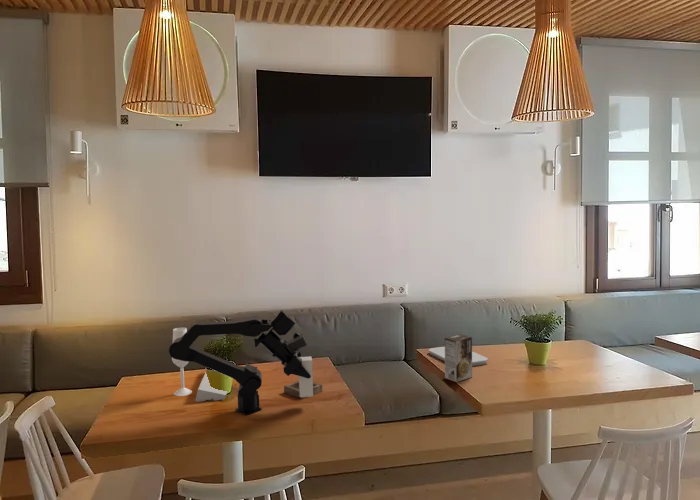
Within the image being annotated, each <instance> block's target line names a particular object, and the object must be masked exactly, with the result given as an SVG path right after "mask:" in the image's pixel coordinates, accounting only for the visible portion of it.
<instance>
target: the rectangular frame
mask: <svg viewBox="0 0 700 500" xmlns="http://www.w3.org/2000/svg"><path fill="white" fill-rule="evenodd" d="M321 392H323V384H321V383H318V382H314V381H313V396H314V395H317V394H319V393H321ZM283 393H285V394H286V395H290V396H293V397H296V398H299V399H302V400H303V399H306V398H307V397H300V394H299V380H298V381H295V382H292V383H289V384H286V385H284V386H283Z"/></svg>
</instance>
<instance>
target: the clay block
mask: <svg viewBox="0 0 700 500" xmlns="http://www.w3.org/2000/svg"><path fill="white" fill-rule="evenodd" d="M299 358H300V359H302V365H303V367H304V368H305V369H306V370H307V372H308V373H309V374H310V375H311V377H310V378H309V379H308V378H305V377H301V376H298V381H299V394H300V397H306V398H310V397H314V395H313V382H314V381H313V380H314V379H313V358H312V356H310V355H309V356H301V357H299Z"/></svg>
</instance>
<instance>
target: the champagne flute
mask: <svg viewBox="0 0 700 500" xmlns="http://www.w3.org/2000/svg"><path fill="white" fill-rule="evenodd" d="M187 329H188V328H187V327H175V328H173V329H172V343H173V342H174V340H175V339H177V338H180V337H182V336H183V335H184V334H185V333H186V332H187V331H188V330H187ZM171 361H172V362H173V364H174V365H175V366H177V368H180V369H179V373H180V374H179V375H180V388H178V389H177V390H176V391H175V392H174V393H173V395H174V396H177V397H184V396H188V395H191V394H192V393H193V391H192V390H191V389H189V388H187V387H185V374H184V373H185V372H184V367H186V366H187V365H188V364H189V362H188V361H181V360H177V359H174V358H172V357H171Z"/></svg>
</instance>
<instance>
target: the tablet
mask: <svg viewBox="0 0 700 500" xmlns="http://www.w3.org/2000/svg"><path fill="white" fill-rule="evenodd" d="M428 352H429V353H430V355H431V356H433V357H435V358H437V359H439V360H441V361H443V362H445V345H444V346H437V347H432V348H429V349H428ZM488 359H489V358H488V357H487V356H484V355H482V354H480V353H477V352H475V351H473V350H472V367H474V366H482V365H486V364H487V362H488Z"/></svg>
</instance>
